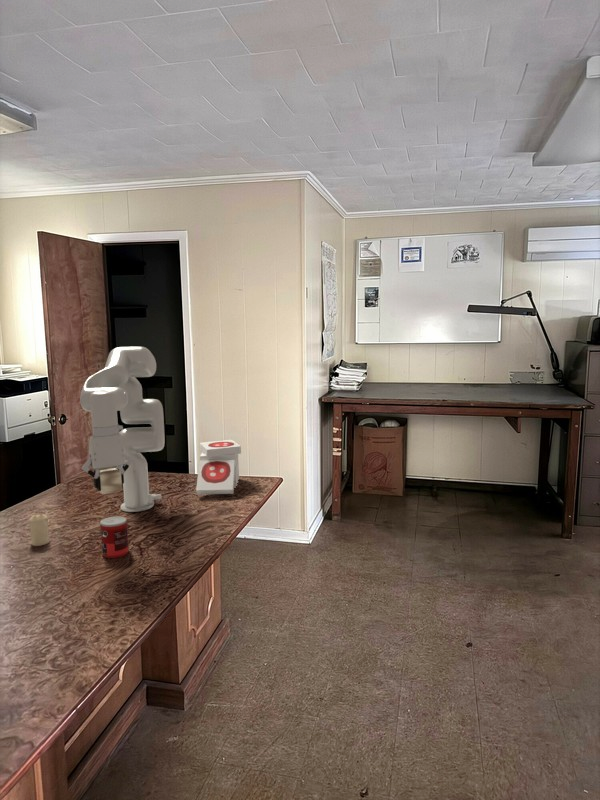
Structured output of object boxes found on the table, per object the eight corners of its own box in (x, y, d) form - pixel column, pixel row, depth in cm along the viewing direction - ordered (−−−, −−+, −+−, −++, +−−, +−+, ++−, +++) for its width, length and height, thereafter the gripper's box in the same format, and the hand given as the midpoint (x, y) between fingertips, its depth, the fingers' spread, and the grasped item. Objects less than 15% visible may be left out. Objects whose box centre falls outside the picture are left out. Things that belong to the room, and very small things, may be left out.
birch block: (116, 486, 183) (115, 467, 183) (122, 490, 178) (120, 472, 178) (97, 489, 180) (96, 471, 179) (102, 494, 175) (101, 475, 174)
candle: (53, 540, 194) (50, 512, 192) (41, 546, 189) (38, 517, 187) (40, 538, 196) (37, 510, 194) (27, 545, 191) (25, 516, 189)
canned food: (105, 549, 186) (103, 516, 184) (131, 548, 186) (128, 515, 185) (99, 559, 178) (97, 525, 177) (126, 557, 179) (123, 524, 177)
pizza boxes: (191, 499, 234) (189, 456, 231) (203, 478, 264) (201, 440, 261) (239, 498, 234) (237, 455, 232) (244, 477, 264) (243, 439, 261)
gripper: (129, 425, 184) (133, 480, 187) (73, 432, 175) (77, 490, 178) (137, 429, 178) (140, 485, 181) (78, 437, 169) (83, 496, 171)
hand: (109, 487), depth 179 cm, fingers closed on birch block, 6 cm apart
